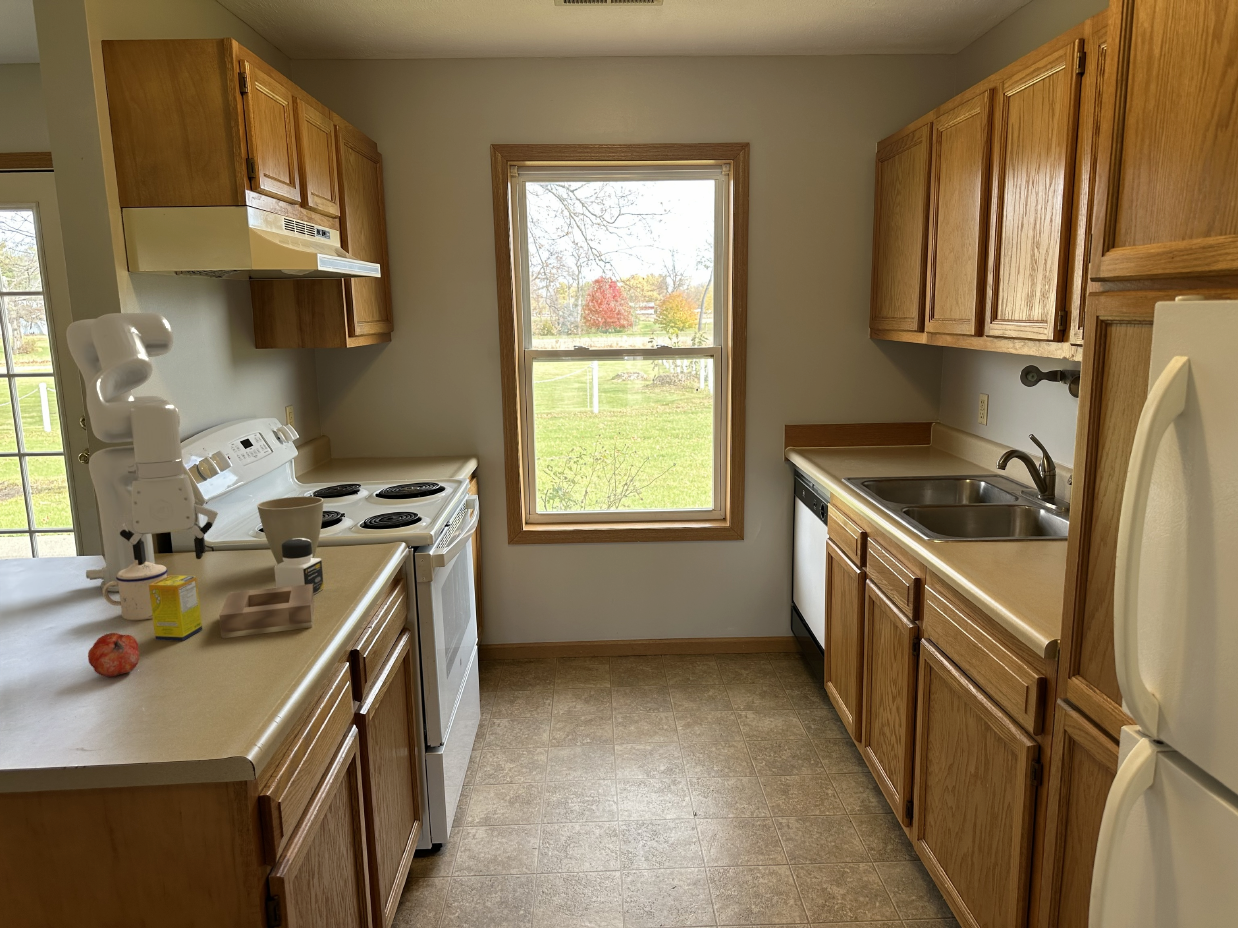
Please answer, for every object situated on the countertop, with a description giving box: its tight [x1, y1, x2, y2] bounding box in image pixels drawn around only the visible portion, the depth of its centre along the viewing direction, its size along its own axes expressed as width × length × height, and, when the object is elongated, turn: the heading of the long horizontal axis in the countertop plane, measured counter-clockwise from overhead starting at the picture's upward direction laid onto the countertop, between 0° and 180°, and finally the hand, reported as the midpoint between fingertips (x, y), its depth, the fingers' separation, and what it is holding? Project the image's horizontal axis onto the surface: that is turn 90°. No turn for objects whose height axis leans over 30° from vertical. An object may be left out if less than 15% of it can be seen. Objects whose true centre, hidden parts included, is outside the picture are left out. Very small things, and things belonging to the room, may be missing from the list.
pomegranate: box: [87, 632, 140, 678], centre depth 141 cm, size 7×7×10 cm
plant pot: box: [256, 495, 324, 565], centre depth 202 cm, size 15×15×16 cm
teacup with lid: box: [102, 560, 168, 621], centre depth 170 cm, size 12×9×12 cm
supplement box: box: [149, 574, 203, 642], centre depth 158 cm, size 6×6×11 cm
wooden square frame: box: [219, 584, 315, 639], centre depth 165 cm, size 16×14×4 cm
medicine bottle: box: [274, 538, 325, 596], centre depth 181 cm, size 7×7×12 cm
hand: (171, 560), depth 156 cm, fingers open, 9 cm apart
